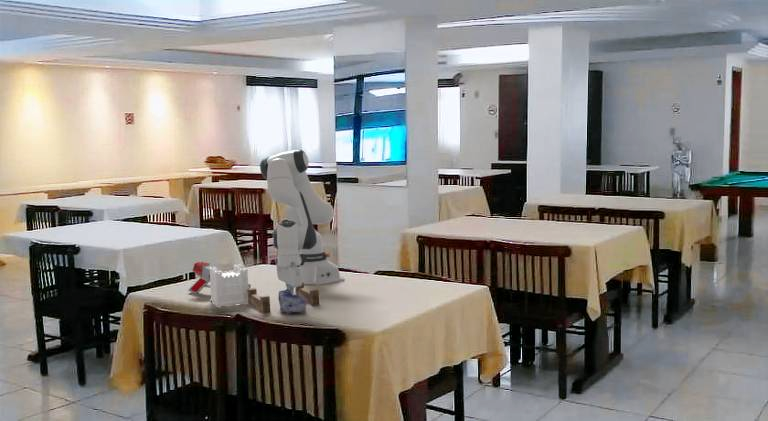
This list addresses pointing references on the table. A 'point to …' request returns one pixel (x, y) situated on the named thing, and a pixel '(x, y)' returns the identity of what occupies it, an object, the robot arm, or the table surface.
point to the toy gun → (203, 277)
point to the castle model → (229, 286)
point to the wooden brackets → (264, 301)
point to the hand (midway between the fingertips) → (290, 294)
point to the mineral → (291, 302)
